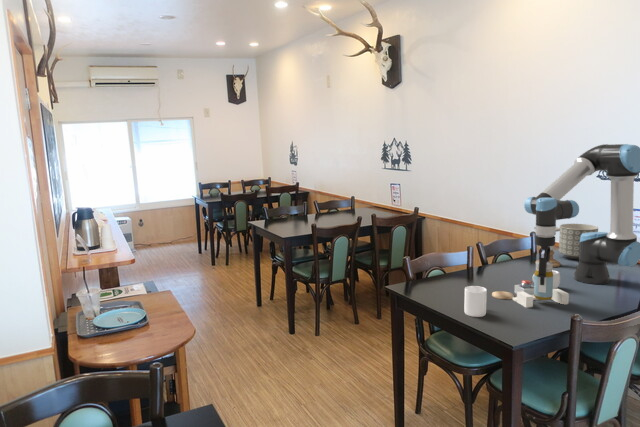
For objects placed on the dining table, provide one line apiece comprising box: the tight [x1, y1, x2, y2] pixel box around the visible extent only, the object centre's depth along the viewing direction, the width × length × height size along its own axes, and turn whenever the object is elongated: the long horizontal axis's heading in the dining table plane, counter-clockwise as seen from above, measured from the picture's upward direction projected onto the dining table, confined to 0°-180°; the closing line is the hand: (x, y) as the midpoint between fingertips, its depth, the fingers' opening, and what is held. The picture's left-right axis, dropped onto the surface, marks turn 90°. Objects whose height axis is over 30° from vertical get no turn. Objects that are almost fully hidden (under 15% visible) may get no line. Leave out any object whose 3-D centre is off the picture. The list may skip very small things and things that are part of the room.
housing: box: [512, 284, 570, 309], centre depth 210 cm, size 19×19×4 cm
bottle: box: [533, 260, 553, 301], centre depth 203 cm, size 7×7×15 cm
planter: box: [558, 223, 599, 261], centre depth 275 cm, size 19×19×18 cm
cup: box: [463, 285, 488, 318], centre depth 195 cm, size 8×12×10 cm
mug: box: [532, 269, 561, 289], centre depth 225 cm, size 12×8×8 cm
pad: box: [491, 290, 515, 300], centre depth 215 cm, size 9×9×1 cm
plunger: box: [520, 279, 532, 289], centre depth 216 cm, size 4×4×5 cm
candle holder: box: [534, 226, 561, 268], centre depth 263 cm, size 12×12×20 cm
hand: (543, 289), depth 204 cm, fingers closed on bottle, 7 cm apart
